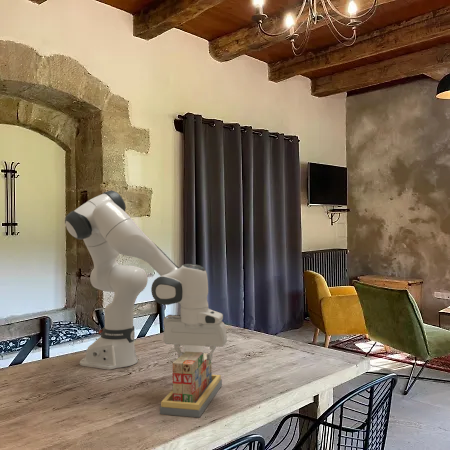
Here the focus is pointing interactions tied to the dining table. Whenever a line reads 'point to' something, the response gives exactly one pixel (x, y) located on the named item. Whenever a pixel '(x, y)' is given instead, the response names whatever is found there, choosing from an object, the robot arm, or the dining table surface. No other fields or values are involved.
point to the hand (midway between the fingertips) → (195, 358)
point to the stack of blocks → (191, 376)
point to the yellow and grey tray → (191, 408)
